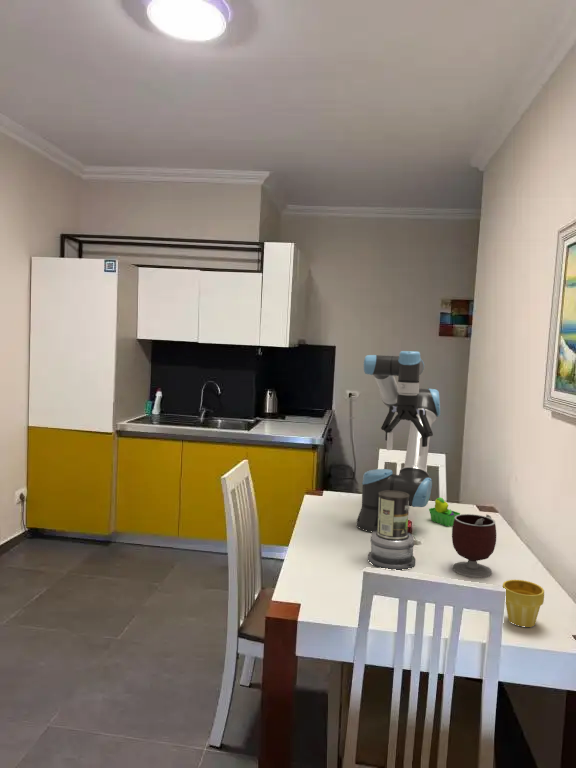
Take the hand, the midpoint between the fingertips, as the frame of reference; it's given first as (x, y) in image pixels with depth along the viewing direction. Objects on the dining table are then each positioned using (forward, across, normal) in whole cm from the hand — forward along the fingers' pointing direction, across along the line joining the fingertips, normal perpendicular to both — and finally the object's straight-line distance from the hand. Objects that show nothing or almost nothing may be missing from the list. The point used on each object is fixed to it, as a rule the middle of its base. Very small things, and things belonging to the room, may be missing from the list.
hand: (405, 452), depth 212 cm
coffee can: (+26, +6, -15) cm, 30 cm away
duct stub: (+35, +6, -15) cm, 38 cm away
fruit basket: (+35, -5, +39) cm, 53 cm away
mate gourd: (+35, +29, -2) cm, 45 cm away
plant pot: (+35, +55, -26) cm, 70 cm away
